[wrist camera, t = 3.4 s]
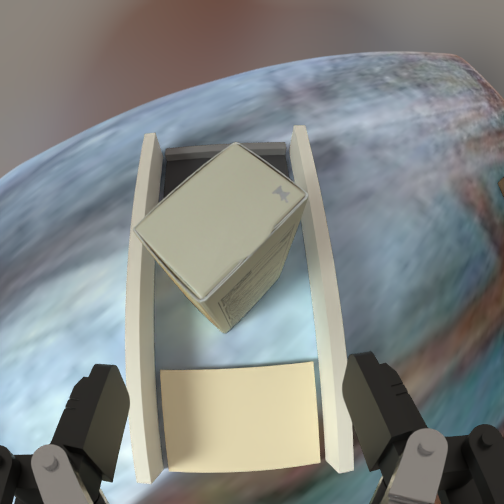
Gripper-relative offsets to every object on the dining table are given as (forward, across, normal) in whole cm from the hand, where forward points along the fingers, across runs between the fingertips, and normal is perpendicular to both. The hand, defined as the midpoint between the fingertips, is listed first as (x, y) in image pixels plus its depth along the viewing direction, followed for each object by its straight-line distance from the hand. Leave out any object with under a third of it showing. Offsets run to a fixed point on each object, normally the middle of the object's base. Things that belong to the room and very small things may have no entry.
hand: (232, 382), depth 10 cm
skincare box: (+13, 0, +4) cm, 14 cm away
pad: (+6, 0, +11) cm, 12 cm away
